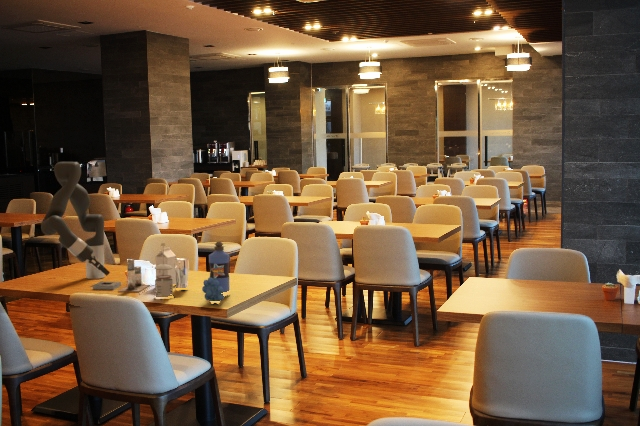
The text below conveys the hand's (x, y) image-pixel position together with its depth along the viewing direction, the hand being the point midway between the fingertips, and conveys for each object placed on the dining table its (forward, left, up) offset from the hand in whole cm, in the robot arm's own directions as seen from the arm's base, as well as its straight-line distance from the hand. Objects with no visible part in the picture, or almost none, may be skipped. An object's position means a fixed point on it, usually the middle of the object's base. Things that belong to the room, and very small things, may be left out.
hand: (106, 272), depth 329 cm
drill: (-6, +9, -9) cm, 14 cm away
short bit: (-15, +10, -9) cm, 19 cm away
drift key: (-17, -12, -11) cm, 24 cm away
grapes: (+18, +53, -11) cm, 57 cm away
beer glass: (-13, +32, -11) cm, 36 cm away
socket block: (-11, -4, -10) cm, 16 cm away
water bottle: (-2, +52, -11) cm, 53 cm away
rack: (-10, +10, -10) cm, 17 cm away
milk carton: (-21, +22, -11) cm, 32 cm away
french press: (+3, +28, -11) cm, 30 cm away
